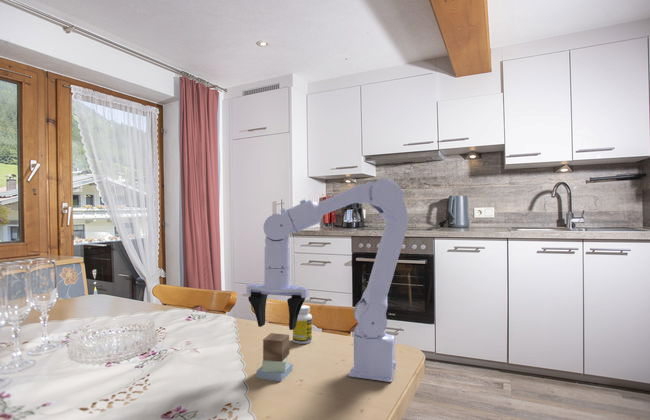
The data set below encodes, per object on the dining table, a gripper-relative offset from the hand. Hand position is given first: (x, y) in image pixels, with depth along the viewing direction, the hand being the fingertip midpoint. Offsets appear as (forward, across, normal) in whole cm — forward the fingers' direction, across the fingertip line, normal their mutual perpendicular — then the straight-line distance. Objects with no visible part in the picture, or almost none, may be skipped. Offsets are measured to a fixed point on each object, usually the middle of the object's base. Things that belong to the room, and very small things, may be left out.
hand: (276, 327), depth 84 cm
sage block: (+9, 0, 0) cm, 9 cm away
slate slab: (+11, 0, 0) cm, 11 cm away
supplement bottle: (+11, +2, -22) cm, 24 cm away
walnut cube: (+7, 0, 0) cm, 7 cm away
